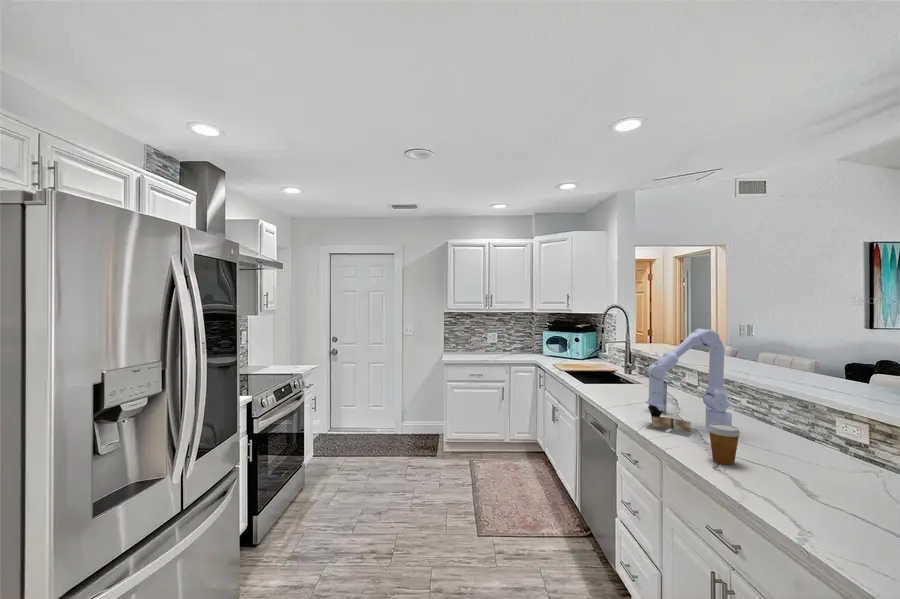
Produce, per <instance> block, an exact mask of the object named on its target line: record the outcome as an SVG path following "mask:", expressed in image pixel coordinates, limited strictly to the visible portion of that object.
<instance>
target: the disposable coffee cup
mask: <svg viewBox="0 0 900 599" xmlns="http://www.w3.org/2000/svg"><path fill="white" fill-rule="evenodd" d="M708 430H709V431H708V433H709V441H710V448H711V456H712V461H713V462H715V463H716V464H719V465H724V464H725V466H732V465H735V461H736V457H737V456H736V455H737V449H738V445H739V444H738V443H739V438H740V435H741V431H740V428H738V427H737V426H734V425H732V426H731V425H727V424H718V423H713V424H710V425H709V427H708Z"/></svg>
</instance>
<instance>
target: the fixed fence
mask: <svg viewBox="0 0 900 599" xmlns="http://www.w3.org/2000/svg"><path fill="white" fill-rule="evenodd" d="M691 423H692V422H691V421H689V420H685V419H678V418H674V429H676V430H681V431H686V432H691V428H692V425H691Z"/></svg>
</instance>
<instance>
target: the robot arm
mask: <svg viewBox="0 0 900 599" xmlns="http://www.w3.org/2000/svg"><path fill="white" fill-rule="evenodd" d="M697 346H704V347H705V348H706V349H707V350H708V351H709V364H708V367H709V368H708V385H707V386H708V387H707V388H706V389H705V394H704V395H703V397H702V400H703V401H702V402H703V404H704V405H705V426H704V427H703V429H702V430H703V431H706V432H709V430H708V427H709V425H710V424H713V423H718V424H727V425H731V426H733V423H732V422H733V420H732V419H733V418H732V413H731V412H728V411H727V410H728V409H729V401H728V399H727V392H726V391H725V390H724V377H725V376H724V374H725V373H724V372H725V345H724V344H723V342H722V340H721V339H720V334H718V333H717V332H716V331H715V330H713V329H706V328H705V329H704V328H701V327H700V328H699V327H698V328H696V329H695V330H694V331H692V332H691V333H689V334H688V336H687V337H686V338H685V339H684V340H683V341H682V342H681V343H680V344H679V345H678V346H677V347H676V348H675V349H674V350H673V351H672V352H671V351H668V352H663V353H662V357H660V358H659V359H658V360H656V361H655V362H654V363H653V364H650V365H649V367H648V369H647V370H646V373H647V374H648V375H649V377H648V379H649V380H648V398H647V400H646V401H645V403H646V405H647V404H648V406H647V408H648V410H649V412H650V417H651V422H652V423H653V416H655V417H661V413H662V411H664V403H663V385H664V382H663V380H664V378H665V377H666V376H667V372H668V371H670V370H671V369H672V368H673V367H674V366H675V365H676V364H678V363H679V359H680V357H681V356H683V355H684V354H685V353H686V352H687V351H689V350H690V349H692V348H693V347H697ZM649 404H651V405H652V406H649ZM652 423H651V424H652Z"/></svg>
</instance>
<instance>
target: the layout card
mask: <svg viewBox="0 0 900 599" xmlns="http://www.w3.org/2000/svg"><path fill="white" fill-rule="evenodd" d="M645 429H646V430H647V429H648V430H652V431H657V432H662V433H665V434H666V433H667V434H671V435H677V436H682V437H687V438H689V437H690V436H692V435H693V434H694V433H695V432H697V431H698V430H699V429H697V428H692V427H691V432H686V431H681V430H676V429H674V428H661V427H653V423H650V424H649V425H647V426H646V427H645Z"/></svg>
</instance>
